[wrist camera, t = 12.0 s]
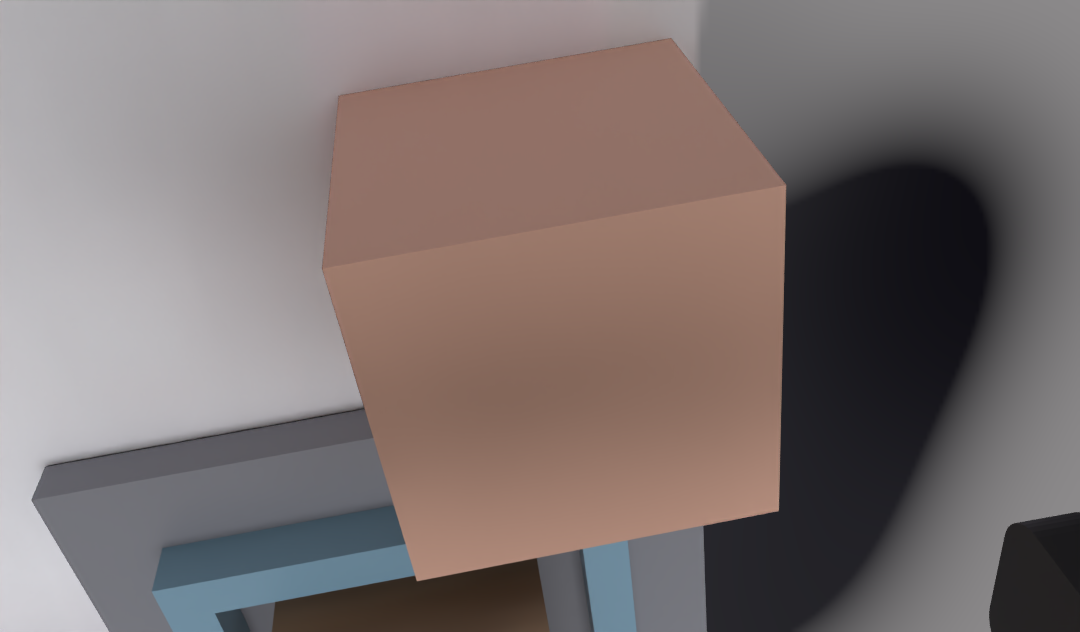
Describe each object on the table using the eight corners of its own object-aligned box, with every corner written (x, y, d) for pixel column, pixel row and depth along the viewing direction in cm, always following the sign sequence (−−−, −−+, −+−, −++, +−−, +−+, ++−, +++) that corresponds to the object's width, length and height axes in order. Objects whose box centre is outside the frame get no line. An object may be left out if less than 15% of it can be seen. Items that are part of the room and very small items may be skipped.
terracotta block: (338, 94, 17) (322, 269, 12) (669, 36, 17) (786, 184, 12) (407, 360, 20) (417, 580, 16) (683, 309, 21) (778, 511, 16)
